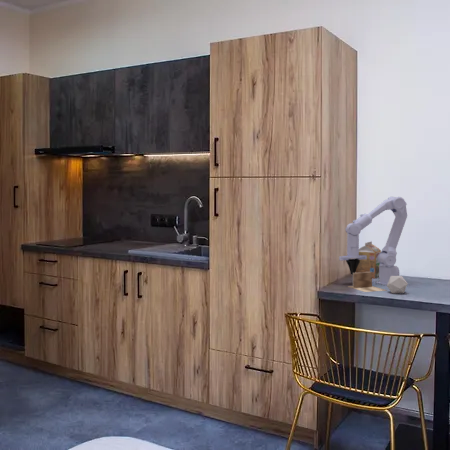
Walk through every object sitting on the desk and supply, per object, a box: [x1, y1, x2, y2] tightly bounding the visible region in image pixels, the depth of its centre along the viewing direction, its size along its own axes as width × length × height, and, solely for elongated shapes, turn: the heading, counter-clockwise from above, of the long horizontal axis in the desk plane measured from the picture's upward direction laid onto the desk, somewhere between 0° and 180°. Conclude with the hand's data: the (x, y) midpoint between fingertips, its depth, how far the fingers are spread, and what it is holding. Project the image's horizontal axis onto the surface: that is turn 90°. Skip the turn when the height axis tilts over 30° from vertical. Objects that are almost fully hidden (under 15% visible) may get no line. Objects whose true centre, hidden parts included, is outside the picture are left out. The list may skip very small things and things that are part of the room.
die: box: [386, 275, 409, 294], centre depth 248 cm, size 8×9×10 cm
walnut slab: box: [352, 272, 373, 289], centre depth 263 cm, size 9×2×7 cm, turn 108°
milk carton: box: [355, 240, 382, 280], centre depth 296 cm, size 11×11×19 cm
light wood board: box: [347, 285, 388, 293], centre depth 260 cm, size 12×16×1 cm
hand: (352, 274), depth 271 cm, fingers closed
